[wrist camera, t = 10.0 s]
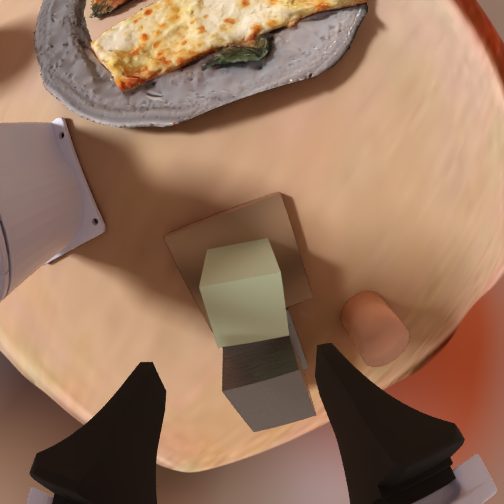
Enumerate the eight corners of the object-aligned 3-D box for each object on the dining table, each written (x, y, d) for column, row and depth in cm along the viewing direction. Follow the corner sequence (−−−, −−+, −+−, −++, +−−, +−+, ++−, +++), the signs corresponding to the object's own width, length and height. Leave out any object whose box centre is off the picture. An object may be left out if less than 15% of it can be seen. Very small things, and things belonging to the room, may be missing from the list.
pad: (167, 233, 18) (163, 238, 17) (278, 191, 18) (280, 194, 17) (212, 323, 21) (212, 331, 20) (309, 291, 21) (312, 297, 20)
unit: (214, 327, 21) (210, 387, 15) (286, 303, 21) (304, 360, 15) (246, 381, 24) (250, 436, 18) (306, 362, 24) (323, 416, 18)
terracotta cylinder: (337, 301, 21) (361, 339, 17) (380, 284, 21) (410, 316, 16) (344, 335, 23) (364, 374, 18) (383, 318, 22) (408, 353, 18)
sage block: (207, 249, 18) (199, 287, 13) (267, 238, 18) (280, 272, 13) (220, 301, 19) (218, 347, 15) (276, 291, 19) (289, 335, 15)
